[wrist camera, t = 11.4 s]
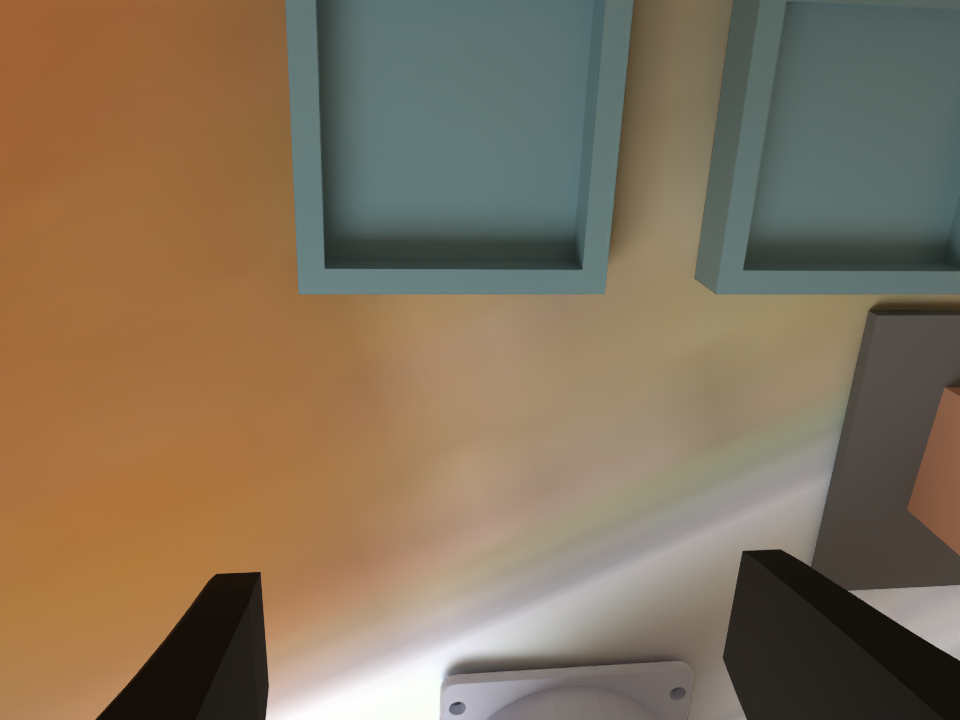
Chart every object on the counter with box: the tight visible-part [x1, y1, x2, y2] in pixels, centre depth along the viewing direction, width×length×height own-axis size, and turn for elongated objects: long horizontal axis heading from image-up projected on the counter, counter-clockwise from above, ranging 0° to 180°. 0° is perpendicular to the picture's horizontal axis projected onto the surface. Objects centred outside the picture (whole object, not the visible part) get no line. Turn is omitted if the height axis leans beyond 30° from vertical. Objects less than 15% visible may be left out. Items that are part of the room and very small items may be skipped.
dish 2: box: [695, 0, 960, 294], centre depth 20 cm, size 7×7×1 cm
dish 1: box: [285, 0, 634, 294], centre depth 18 cm, size 7×7×1 cm
